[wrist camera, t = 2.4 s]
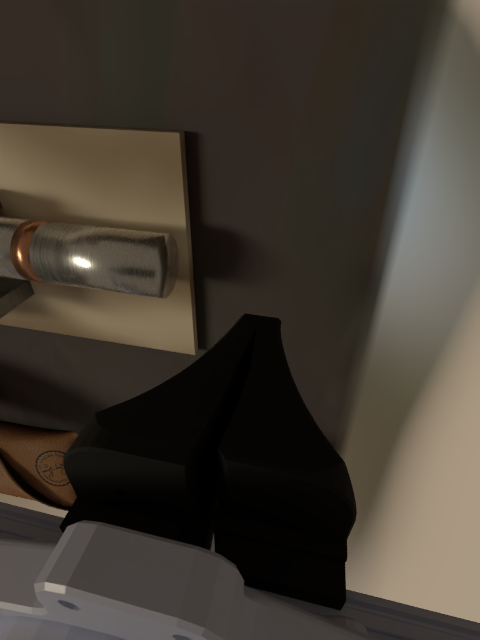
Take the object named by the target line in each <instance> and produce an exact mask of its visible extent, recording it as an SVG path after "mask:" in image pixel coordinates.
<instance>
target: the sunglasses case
mask: <svg viewBox="0 0 480 640" xmlns="http://www.w3.org/2000/svg"><path fill="white" fill-rule="evenodd" d="M77 436H78V434H77V433H75V432H71V431H64V430H52V429H44V428H38V427H32V426H25V425H20V424H15V423H9V422H5V421H0V493H3V494H7V495H12V496H16V497H21V498H26V499H31V500H35V501H38V502H40V503H42V504H45V505H47V506H49V507H54V508H56V509H61V510H67V511H69V510H70V508H71V506H72V505H73V503H74V501H75V500H76V498H77V496H76V494H75V491H74V489H73V487H72V485H71V483H70V481H69V479H68V477H67V475H66V473H65V469H64V466H63V458H64V455H65V453H66V452H67V451H68V449H69V448H70V446H71V445H72V443H73V442H74V440H75V439H76V438H77Z"/></svg>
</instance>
